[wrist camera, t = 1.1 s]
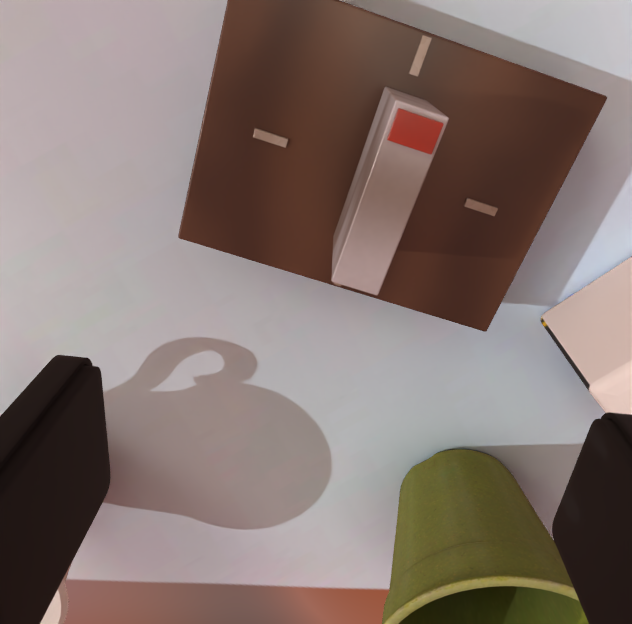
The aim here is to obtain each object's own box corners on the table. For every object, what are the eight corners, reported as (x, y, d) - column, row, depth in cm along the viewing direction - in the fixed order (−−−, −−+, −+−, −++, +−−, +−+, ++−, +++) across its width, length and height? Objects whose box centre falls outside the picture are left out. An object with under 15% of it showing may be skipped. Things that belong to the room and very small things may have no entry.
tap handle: (371, 249, 25) (378, 299, 20) (332, 237, 25) (330, 284, 20) (427, 100, 22) (451, 118, 17) (384, 86, 22) (396, 100, 17)
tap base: (195, 215, 28) (176, 239, 25) (249, -28, 23) (234, -38, 20) (470, 301, 30) (487, 334, 26) (574, 89, 25) (610, 97, 21)
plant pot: (533, 393, 32) (622, 558, 22) (561, 535, 37) (645, 724, 27) (337, 440, 34) (335, 610, 24) (388, 569, 39) (404, 755, 29)
